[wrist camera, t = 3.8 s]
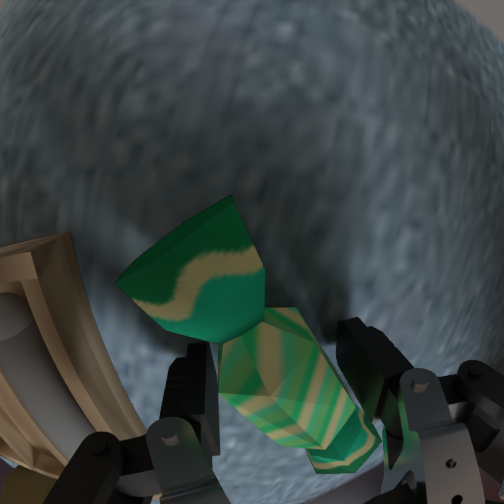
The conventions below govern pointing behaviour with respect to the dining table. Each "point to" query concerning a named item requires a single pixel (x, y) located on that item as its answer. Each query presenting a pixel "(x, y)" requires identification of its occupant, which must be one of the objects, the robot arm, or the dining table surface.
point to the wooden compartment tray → (60, 353)
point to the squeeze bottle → (25, 487)
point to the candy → (251, 338)
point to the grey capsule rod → (39, 377)
